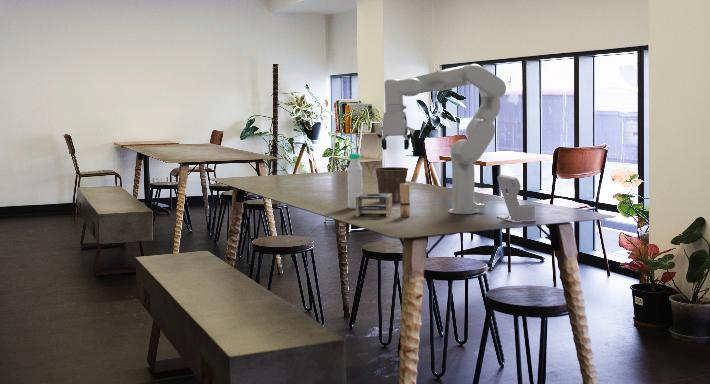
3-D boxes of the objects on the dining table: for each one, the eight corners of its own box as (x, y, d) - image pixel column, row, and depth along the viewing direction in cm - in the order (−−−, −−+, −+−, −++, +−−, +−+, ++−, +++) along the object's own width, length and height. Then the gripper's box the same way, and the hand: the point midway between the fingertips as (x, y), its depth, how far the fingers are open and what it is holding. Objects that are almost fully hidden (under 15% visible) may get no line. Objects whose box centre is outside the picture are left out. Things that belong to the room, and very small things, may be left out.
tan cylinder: (410, 216, 356) (410, 183, 354) (409, 217, 352) (409, 184, 350) (400, 216, 357) (400, 183, 355) (399, 217, 352) (399, 184, 351)
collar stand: (392, 212, 367) (391, 193, 366) (388, 216, 355) (388, 196, 354) (360, 212, 369) (360, 193, 369) (356, 216, 358) (355, 196, 357)
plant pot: (415, 201, 405) (415, 168, 403) (388, 204, 396) (388, 170, 394) (395, 198, 418) (394, 166, 417) (368, 201, 409) (368, 168, 408)
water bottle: (354, 206, 391) (353, 153, 388) (366, 207, 386) (365, 153, 384) (344, 208, 386) (343, 154, 383) (356, 209, 381) (355, 154, 378)
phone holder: (537, 221, 334) (537, 176, 332) (514, 223, 331) (514, 177, 329) (517, 216, 350) (517, 173, 348) (495, 217, 348) (495, 174, 346)
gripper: (416, 108, 353) (417, 148, 355) (377, 109, 359) (379, 149, 361) (411, 108, 346) (412, 149, 348) (371, 109, 352) (373, 150, 354)
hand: (395, 149), depth 354 cm, fingers open, 9 cm apart
